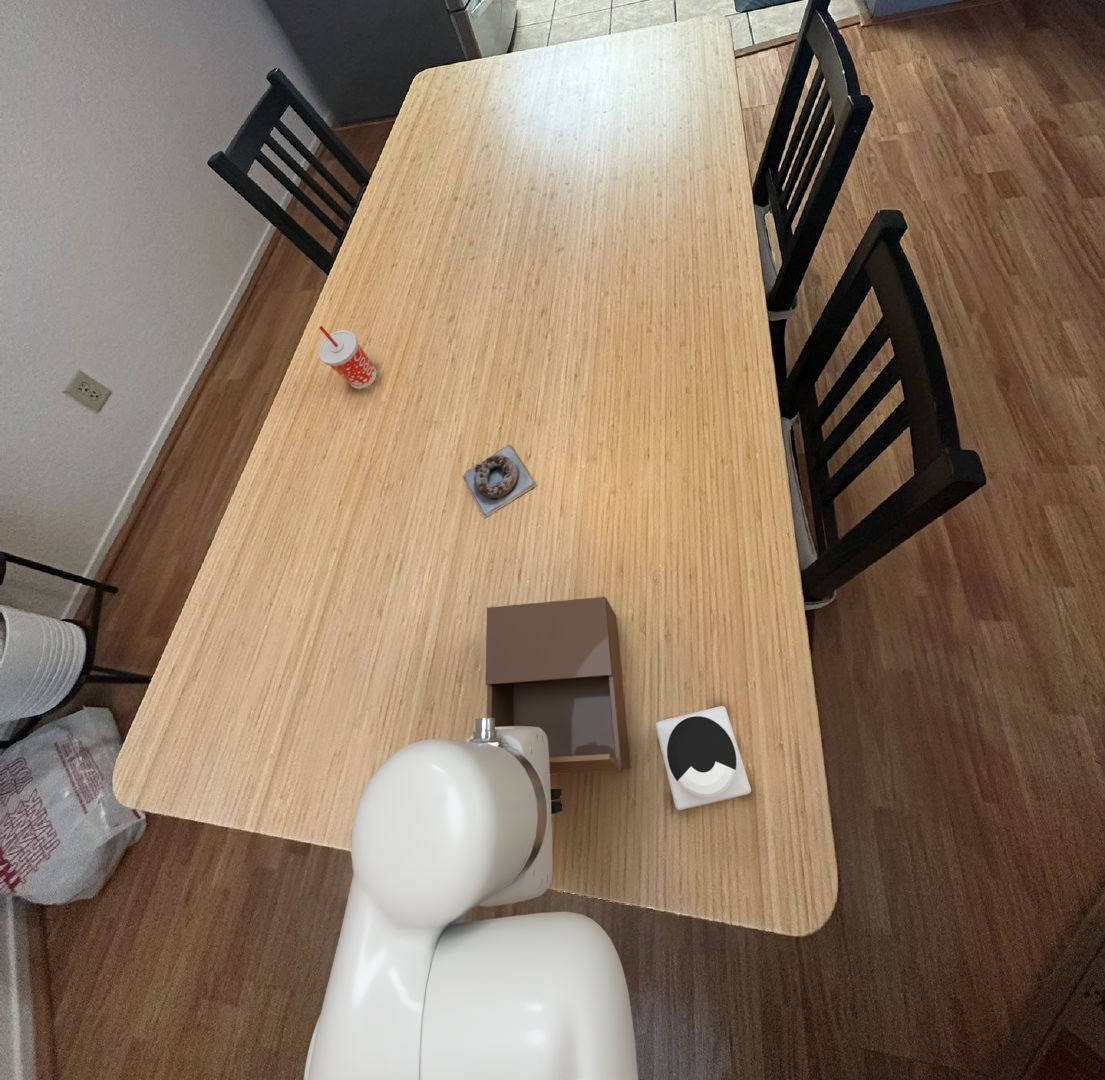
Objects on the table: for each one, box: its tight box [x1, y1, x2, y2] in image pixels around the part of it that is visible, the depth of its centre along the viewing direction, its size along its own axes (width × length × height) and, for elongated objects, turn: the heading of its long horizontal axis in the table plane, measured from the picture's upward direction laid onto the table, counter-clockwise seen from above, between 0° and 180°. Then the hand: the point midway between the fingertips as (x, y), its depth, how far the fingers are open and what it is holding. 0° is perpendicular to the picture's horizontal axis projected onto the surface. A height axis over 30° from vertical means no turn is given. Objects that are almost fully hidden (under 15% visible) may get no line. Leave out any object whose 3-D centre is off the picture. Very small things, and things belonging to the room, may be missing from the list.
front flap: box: [549, 754, 621, 775], centre depth 55 cm, size 7×13×1 cm
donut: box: [461, 444, 538, 519], centre depth 86 cm, size 8×8×2 cm
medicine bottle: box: [654, 705, 752, 811], centre depth 60 cm, size 7×7×12 cm
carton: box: [485, 596, 632, 770], centre depth 66 cm, size 15×13×10 cm
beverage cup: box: [318, 325, 377, 390], centre depth 96 cm, size 6×6×14 cm
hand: (545, 800), depth 54 cm, fingers closed
